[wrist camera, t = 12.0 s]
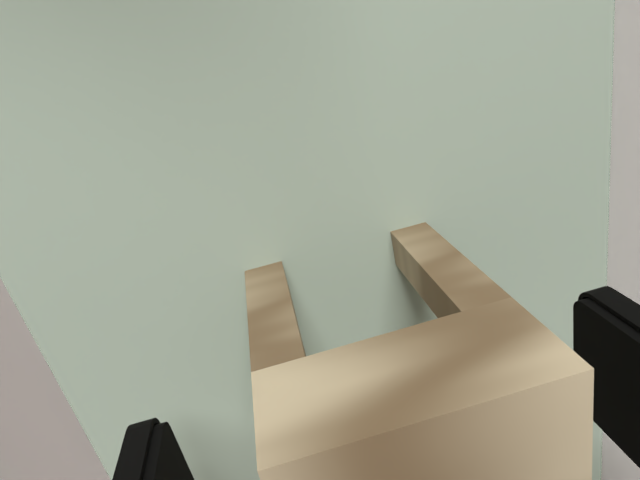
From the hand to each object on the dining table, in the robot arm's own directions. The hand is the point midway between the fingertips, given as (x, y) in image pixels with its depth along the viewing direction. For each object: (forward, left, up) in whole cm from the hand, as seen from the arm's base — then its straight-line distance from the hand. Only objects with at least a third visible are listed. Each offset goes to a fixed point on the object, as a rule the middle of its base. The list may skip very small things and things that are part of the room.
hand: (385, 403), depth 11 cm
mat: (0, 0, -4) cm, 4 cm away
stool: (0, 0, -3) cm, 3 cm away
